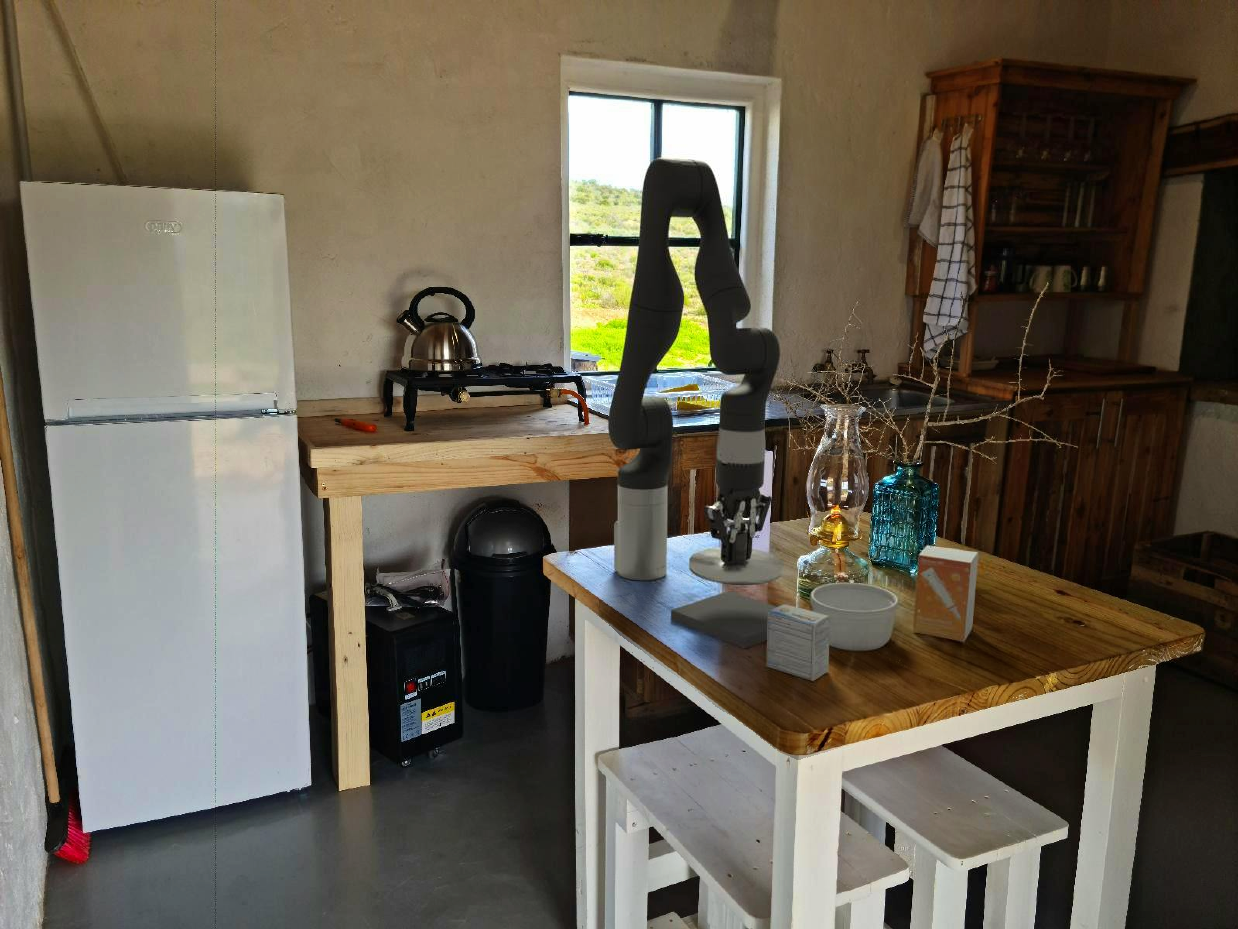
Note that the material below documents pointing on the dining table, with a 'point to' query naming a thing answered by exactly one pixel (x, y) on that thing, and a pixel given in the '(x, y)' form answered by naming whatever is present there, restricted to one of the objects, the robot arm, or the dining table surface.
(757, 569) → the lid
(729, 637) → the mat
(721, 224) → the robot arm
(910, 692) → the dining table surface
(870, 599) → the ramekin
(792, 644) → the medicine box
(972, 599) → the small box
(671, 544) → the dining table surface
